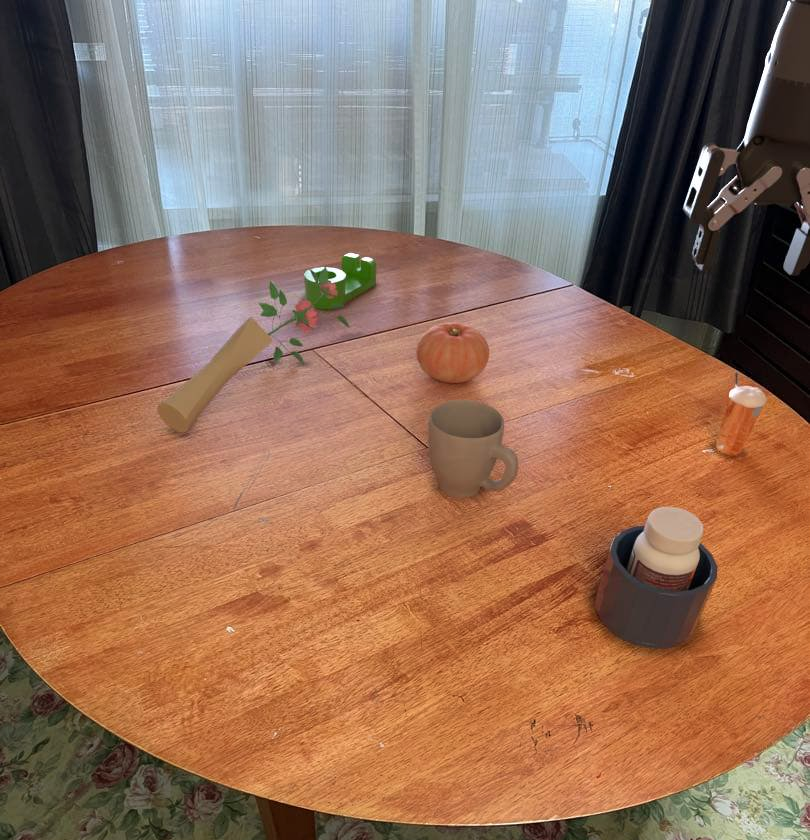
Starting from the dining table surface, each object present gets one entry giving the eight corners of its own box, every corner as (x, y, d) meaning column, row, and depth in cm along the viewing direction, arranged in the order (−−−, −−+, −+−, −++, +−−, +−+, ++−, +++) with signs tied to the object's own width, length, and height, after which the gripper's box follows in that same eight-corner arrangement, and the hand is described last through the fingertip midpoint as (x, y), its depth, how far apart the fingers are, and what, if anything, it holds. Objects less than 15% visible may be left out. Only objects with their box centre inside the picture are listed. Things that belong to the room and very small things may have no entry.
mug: (409, 485, 94) (413, 418, 88) (453, 456, 99) (460, 391, 93) (487, 528, 88) (498, 460, 82) (529, 495, 94) (542, 428, 87)
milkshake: (725, 434, 107) (750, 369, 100) (752, 454, 103) (779, 389, 96) (699, 440, 105) (722, 375, 99) (725, 461, 101) (751, 395, 95)
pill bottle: (686, 627, 77) (722, 542, 70) (628, 631, 76) (658, 546, 69) (663, 585, 82) (693, 501, 74) (608, 588, 81) (633, 504, 73)
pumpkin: (474, 357, 121) (480, 309, 116) (495, 391, 113) (502, 341, 108) (408, 361, 119) (411, 312, 114) (424, 396, 111) (427, 345, 106)
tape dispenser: (330, 312, 131) (330, 286, 128) (297, 302, 134) (296, 276, 131) (377, 285, 141) (377, 260, 138) (345, 276, 144) (345, 251, 141)
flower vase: (176, 464, 108) (306, 324, 126) (236, 471, 101) (365, 322, 120) (129, 396, 100) (276, 259, 119) (191, 399, 94) (336, 252, 112)
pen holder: (679, 579, 83) (699, 526, 78) (707, 651, 75) (732, 597, 71) (586, 576, 83) (601, 523, 78) (605, 647, 75) (623, 593, 70)
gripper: (742, 75, 58) (682, 282, 69) (924, 85, 59) (837, 289, 69) (712, 59, 64) (661, 252, 75) (878, 68, 64) (804, 259, 75)
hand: (746, 270), depth 72 cm, fingers open, 8 cm apart
